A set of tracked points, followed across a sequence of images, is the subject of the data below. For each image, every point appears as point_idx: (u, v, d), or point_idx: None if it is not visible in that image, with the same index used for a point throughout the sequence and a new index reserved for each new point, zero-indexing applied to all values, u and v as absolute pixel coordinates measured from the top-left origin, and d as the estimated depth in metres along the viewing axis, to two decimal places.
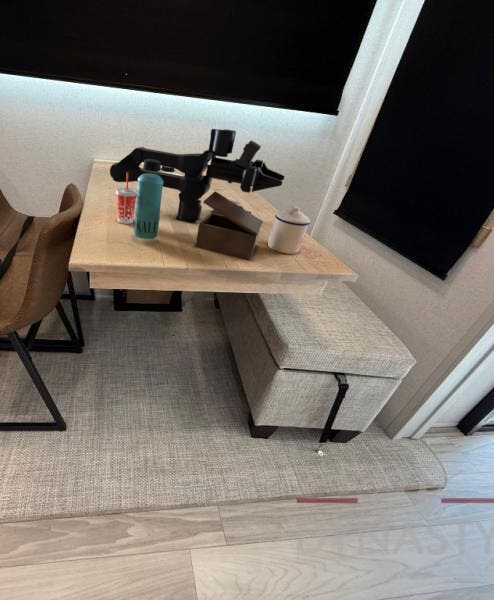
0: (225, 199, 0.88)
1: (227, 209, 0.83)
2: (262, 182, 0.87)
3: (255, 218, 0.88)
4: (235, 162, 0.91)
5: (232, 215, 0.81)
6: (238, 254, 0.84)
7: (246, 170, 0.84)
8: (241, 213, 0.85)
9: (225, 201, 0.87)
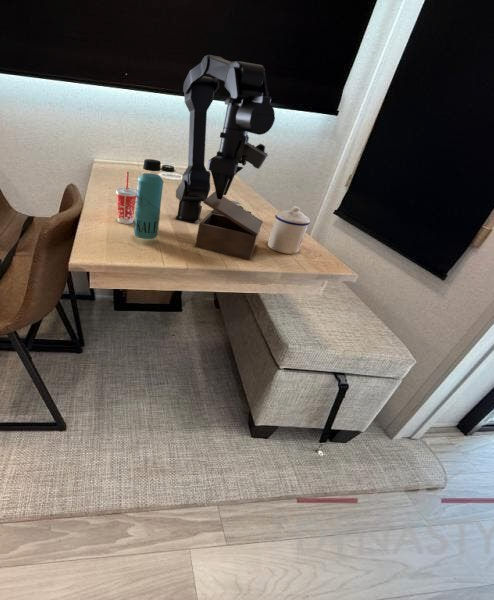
0: (225, 199, 0.88)
1: (227, 209, 0.83)
2: (220, 179, 0.78)
3: (255, 218, 0.88)
4: (243, 140, 0.74)
5: (232, 215, 0.81)
6: (238, 254, 0.84)
7: (232, 163, 0.71)
8: (241, 213, 0.85)
9: (225, 201, 0.87)
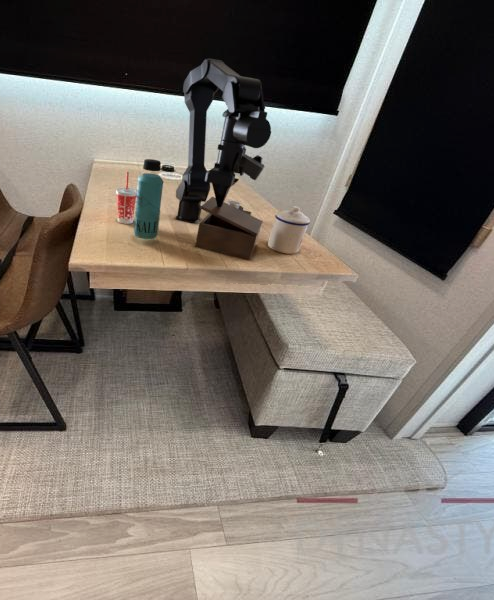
0: (223, 203, 0.89)
1: (225, 213, 0.83)
2: (220, 188, 0.82)
3: (254, 219, 0.88)
4: (241, 153, 0.76)
5: (230, 218, 0.82)
6: (238, 254, 0.84)
7: (229, 176, 0.73)
8: (240, 215, 0.86)
9: (223, 205, 0.88)
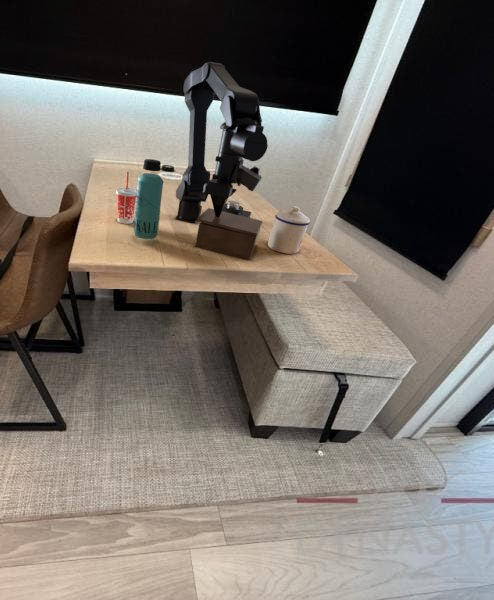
0: None
1: (222, 220, 0.84)
2: (218, 198, 0.83)
3: (253, 220, 0.88)
4: (238, 165, 0.77)
5: (228, 224, 0.83)
6: (238, 254, 0.84)
7: (226, 188, 0.74)
8: (238, 220, 0.87)
9: None
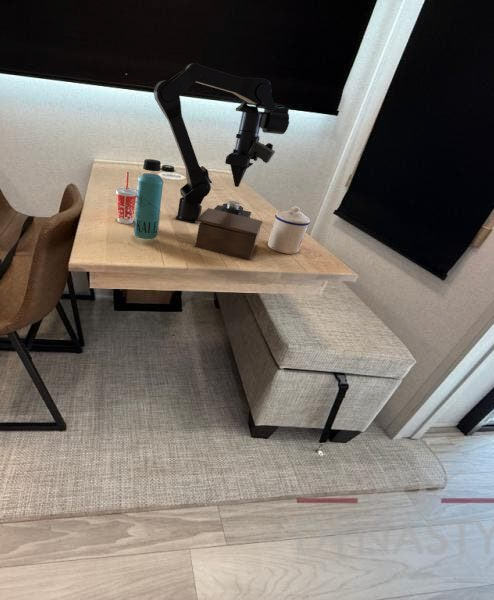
0: (219, 212, 0.90)
1: (222, 220, 0.84)
2: (237, 170, 0.99)
3: (253, 220, 0.88)
4: (255, 140, 0.92)
5: (228, 224, 0.83)
6: (238, 254, 0.84)
7: (245, 158, 0.89)
8: (238, 220, 0.87)
9: (219, 213, 0.89)
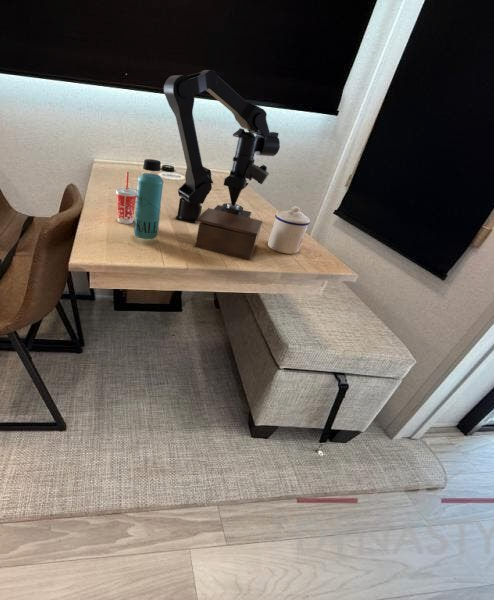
0: (219, 212, 0.90)
1: (222, 220, 0.84)
2: (234, 190, 1.06)
3: (253, 220, 0.88)
4: (251, 163, 0.99)
5: (228, 224, 0.83)
6: (238, 254, 0.84)
7: (242, 181, 0.96)
8: (238, 220, 0.87)
9: (219, 213, 0.89)
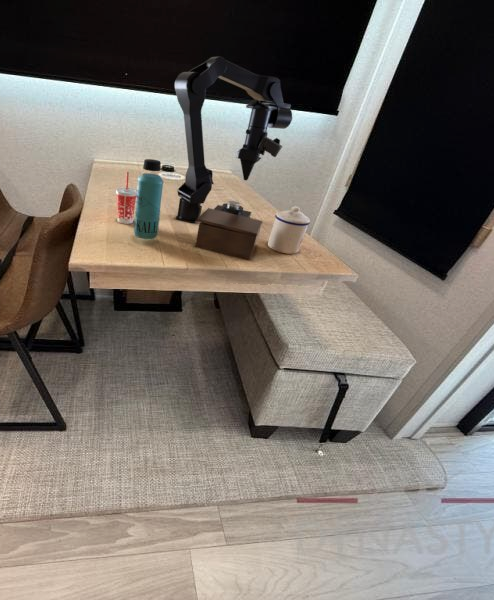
0: (219, 212, 0.90)
1: (222, 220, 0.84)
2: (247, 164, 1.04)
3: (253, 220, 0.88)
4: (264, 135, 0.98)
5: (228, 224, 0.83)
6: (238, 254, 0.84)
7: (255, 153, 0.95)
8: (238, 220, 0.87)
9: (219, 213, 0.89)
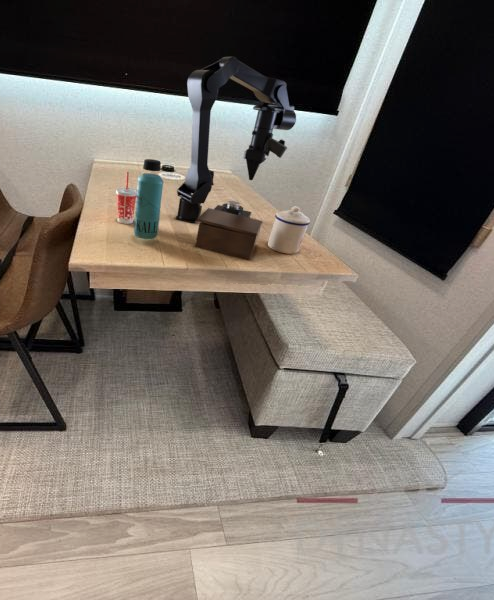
0: (219, 212, 0.90)
1: (222, 220, 0.84)
2: (252, 164, 1.07)
3: (253, 220, 0.88)
4: (270, 136, 1.00)
5: (228, 224, 0.83)
6: (238, 254, 0.84)
7: (262, 153, 0.97)
8: (238, 220, 0.87)
9: (219, 213, 0.89)
